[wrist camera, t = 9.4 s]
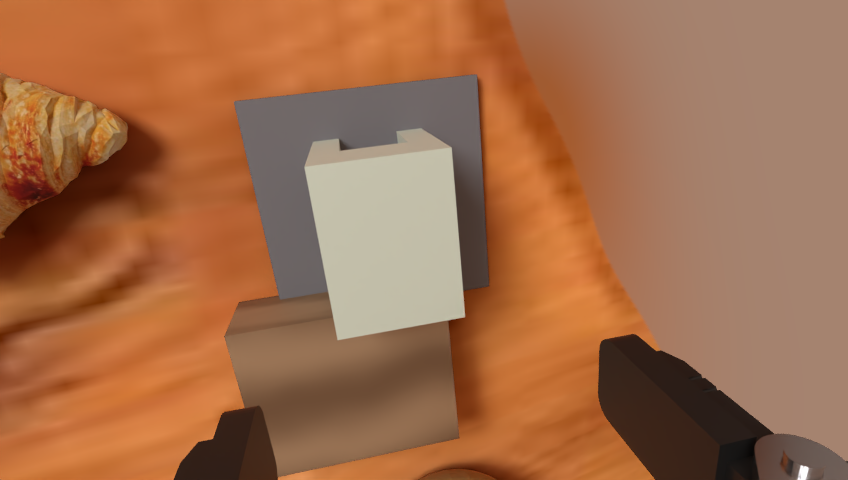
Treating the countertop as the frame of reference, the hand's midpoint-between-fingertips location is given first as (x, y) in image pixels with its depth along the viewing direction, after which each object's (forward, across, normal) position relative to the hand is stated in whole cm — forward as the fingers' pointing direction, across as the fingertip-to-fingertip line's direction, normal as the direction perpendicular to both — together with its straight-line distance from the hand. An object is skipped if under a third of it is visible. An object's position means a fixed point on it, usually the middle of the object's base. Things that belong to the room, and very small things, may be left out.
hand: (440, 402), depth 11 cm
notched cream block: (+18, 0, 0) cm, 18 cm away
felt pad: (+18, 0, 0) cm, 18 cm away
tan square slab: (+18, +3, +10) cm, 21 cm away
